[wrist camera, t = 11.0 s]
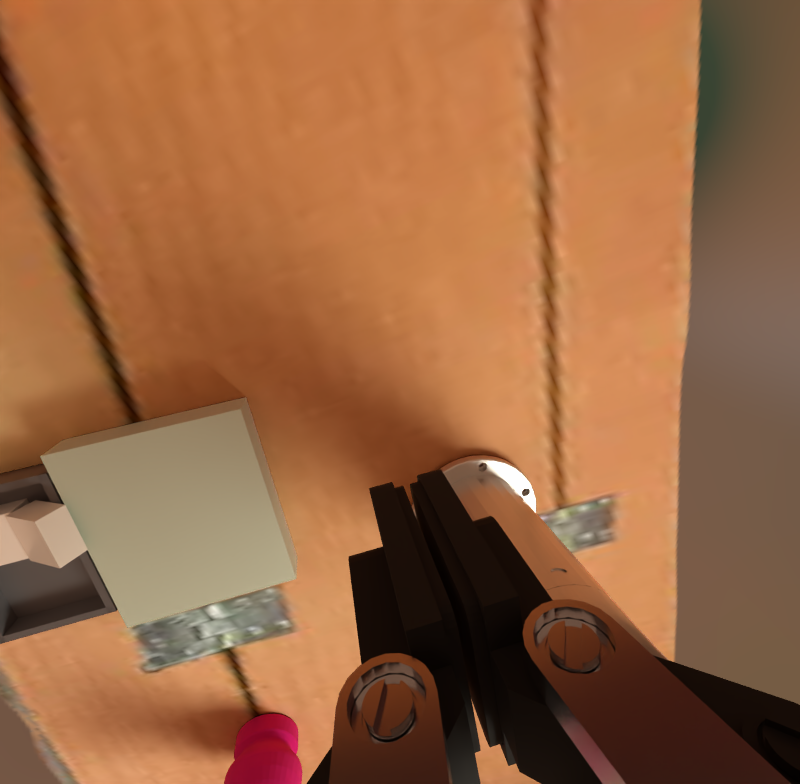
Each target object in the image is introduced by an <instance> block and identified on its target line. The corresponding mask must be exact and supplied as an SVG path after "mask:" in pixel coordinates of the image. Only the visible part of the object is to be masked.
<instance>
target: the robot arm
mask: <svg viewBox="0 0 800 784" xmlns="http://www.w3.org/2000/svg"><path fill="white" fill-rule="evenodd" d="M417 480H418V482H415V483H412V484H410V488H411V493H412V498H413V504H412V506H411V504H410V501H409V499H408V496H407V494H406V492H405V489H404V487H403V486H401V487H397V488H394V485H393V483H392V482H391V483H387V484H383V485H380V486H376V487H372V488H369V490H370V494H371V498H372V502H373V507H374V511H375V515H376V519H377V523H378V527H379V532H380V536H381V540H382V544H383V547H380V548H377V549H373V550H370V551H366V552H363V553H359V554H356V555H352V556H349V567H350V575H351V583H352V591H353V599H354V607H355V615H356V623H357V631H358V639H359V647H360V655H361V663H362V665H360V666H359V667H358V668H357V669H356V670H355V671H354V672H353V673H352V674H351V675H350V676H349V677H348V678H347V680H346V682H345V684H344V686H343V687H342V689H341V691H340V693H339V697H338V701H337V706H336V711H335V722H334V733H333V744H332V747H331V748H330V750H329V751H328V753H327V754H326V756H325V757H324V759H323V760H322V762H321V763H320V765H319V766H318V768H317V769H316V771H315V772H314V774H313V775H312V777H311V778H310V779H309V781H308V782H307V784H480V779H479V774H478V768H477V763H476V758H475V753H476V752H478V751H480V744H479V738H478V733H477V728H476V722H475V717H474V712H473V706H472V702H473V704H474V707H475V710H476V713H477V715H478V718H479V721H480V724H481V726H482V729H483V732H484V735H485V737H486V740H487V742H488V745H489V746H490V747H492V746H495V745H498V744H500V745H501V748H502V750H503V753H504V755H505V758H506V761H507V763H508V766H510V765H513V764H517V766H518V769H519V771H520V772H521V773H523V774H525V775H527V776H528V777H530V778H532V779H534V780H536V781H537V782H539V783H541V784H800V705H798V704H796V703H794V702H791V701H788V700H785V699H782V698H779V697H776V696H773V695H770V694H767V693H764V692H761V691H758V690H755V689H752V688H749V687H746V686H743V685H740V684H738V683H734V682H731V681H728V680H726V679H723V678H720V677H717V676H714V675H711V674H708V673H705V672H702V671H699V670H695V669H693V668H689V667H687V666H684V665H681V664H678V663H675V662H672V661H669V660H668V659H667V658H666V657H665V656H664V655H663V654H662V653H661V652H660V651H659V650H658V649H657V648H656V647H655V646H654V645H653V644H652V643H651V642H650V640H649V639H648V638H647V637H646V636H645V635H644V634H643V633H642V632H641V631H640V630H639V629H638V627H637V626H636V625H635V624H634V623H633V622H632V621H631V620H630V619H629V617H628V616H627V615H626V614H625V613H624V612H623V611H622V610H621V608H620V607H619V606H618V605H617V604H616V603H615V602H614V601H613V599H612V598H611V597H610V596H609V595H608V594H607V593H606V591H605V590H604V589H603V588H602V587H601V586H600V585H599V584H598V582H597V581H596V580H595V579H594V578H593V577H592V576H591V575H590V573H589V572H588V571H587V570H586V569H585V568H584V567H583V565H582V564H581V563H580V562H579V561H578V560H577V559H576V558H575V556H574V555H573V554H572V553H571V552H570V551H569V550H568V549H567V547H566V546H565V545H564V544H563V543H562V542H561V541H560V539H559V538H558V537H557V536H556V535H555V534H554V533H553V532H552V530H551V529H550V528H549V527H548V526H547V525H546V524H545V522H544V521H543V520H542V519H541V518H540V517H539V516H538V515H537V513H536V498H535V494H534V490H533V488H532V486H531V484H530V482H529V480H528V479H527V478H526V477H525V475H524V474H523V473H522V472H521V471H520V470H519V469H518V468H517V467H516V466H514V465H513V464H511V463H509V462H508V461H506V460H503V459H500V458H498V457H494V456H486V455H478V456H469V457H465V458H461V459H458V460H455V461H453V462H451V463H448V464H446V465H445V466H443V467H442V468H440V469H439V470H435V471H432V472H428V473H424V474H421V475H417ZM471 699H472V701H471Z"/></svg>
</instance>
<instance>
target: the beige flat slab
mask: <svg viewBox="0 0 800 784" xmlns="http://www.w3.org/2000/svg"><path fill="white" fill-rule="evenodd" d="M40 458H41V460H42V462H43V464H44V465H45V467H46V469H47V471H48V473H49V475H50V477H51V479H52V481H53V483H54V485H55V487H56V489H57V491H58V493H59V495H60V497H61V499H62V501H63V503H64V505H66V507H67V509H68V511H69V513H70V515H71V517H72V519H73V521H74V523H75V525H76V527H77V529H78V531H79V533H80V535H81V537H82V539H83V541H84V543H85V545H86V547H87V549H88V552H89V554H90V556H91V558H92V560H93V562H94V564H95V566H96V567H97V569H98V571H99V573H100V575H101V577H102V579H103V581H104V583H105V585H106V587H107V589H108V591H109V593H110V595H111V597H112V599H113V601H114V603H115V605H116V607H117V609H118V611H119V613H120V615H121V617H122V618H123V620H124V622H125V624H126V626H127V628H128V627H132V626H135V625H139V624H142V623H146V622H149V621H153V620H156V619H159V618H163V617H166V616H170V615H173V614H177V613H180V612H184V611H187V610H191V609H194V608H198V607H201V606H204V605H208V604H211V603H215V602H218V601H222V600H225V599H229V598H232V597H236V596H239V595H242V594H246V593H249V592H253V591H256V590H260V589H263V588H267V587H270V586H274V585H277V584H281V583H284V582H287V581H291V580H294V579H296V576H297V554H296V551H295V548H294V545H293V541H292V538H291V535H290V532H289V529H288V526H287V523H286V520H285V516H284V513H283V510H282V507H281V504H280V501H279V498H278V495H277V492H276V488H275V485H274V482H273V479H272V476H271V473H270V470H269V467H268V464H267V460H266V457H265V454H264V451H263V448H262V445H261V442H260V439H259V436H258V432H257V429H256V426H255V423H254V420H253V417H252V414H251V411H250V407H249V404H248V401H247V398H246V397H244V398H240V399H236V400H231V401H227V402H223V403H218V404H214V405H210V406H206V407H201V408H197V409H193V410H188V411H184V412H180V413H176V414H171V415H167V416H163V417H158V418H154V419H150V420H146V421H141V422H137V423H133V424H128V425H124V426H120V427H116V428H111V429H107V430H103V431H98V432H94V433H90V434H86V435H81V436H77V437H73V438H68V439H64V440H62V441H60V442H59V443H58V444H56V445H55V446H54V447H52V448H51V449H49V450H48V451H47V452H45V453H44V454H43V455H41V456H40Z"/></svg>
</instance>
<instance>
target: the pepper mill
mask: <svg viewBox="0 0 800 784" xmlns="http://www.w3.org/2000/svg"><path fill="white" fill-rule="evenodd" d="M297 750H298V728H297V726H296V724H295V723H294V721H293V720H292V719H290V718H289V717H287V716H285V715H281V714H264V715H261V716H258V717H255V718H253V719H252V720H250V721H248V722H247V723H246V724H245V725H244V726H243V727H242V728H241V729H240V731H239V733H238V735H237V739H236V745H235V751H234V759H235V761H234V762H233V764H232V765H231V766H230V768H229V770H228V772H227V774H226V777H225V781H224V784H301V781H302V767H301V763H300V761H299V758H298V757H297V755H296V753H297Z"/></svg>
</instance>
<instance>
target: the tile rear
mask: <svg viewBox="0 0 800 784" xmlns="http://www.w3.org/2000/svg"><path fill="white" fill-rule="evenodd" d="M27 504H29V501H28V500H27V498H26V499H22V500H18V501H14V502H10V503H6V504H2V505H0V566H2V565H5V564H9V563H13V562H17V561H21V560H25V559H28V556H27V554H26V552H25V551H24V549H23V547H22V545H21V543H20V542H19V540H18V538H17V536H16V535H15V533H14V531H13V529H12V528H11V526H10V524H9V522H8V521H7V519H6V517H5V516H6V515H8V514H10V513H12V512H14V511H16V510H18V509H20V508H21V507H23V506H25V505H27Z"/></svg>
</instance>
